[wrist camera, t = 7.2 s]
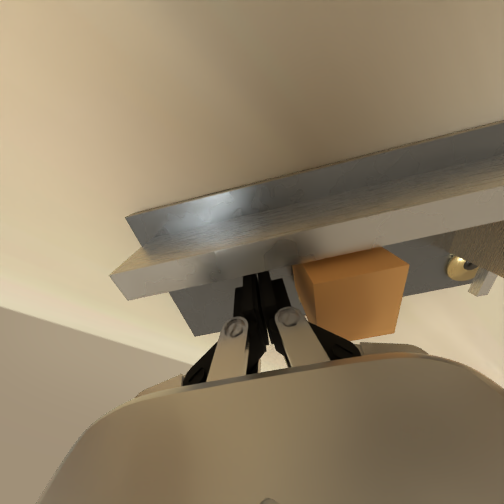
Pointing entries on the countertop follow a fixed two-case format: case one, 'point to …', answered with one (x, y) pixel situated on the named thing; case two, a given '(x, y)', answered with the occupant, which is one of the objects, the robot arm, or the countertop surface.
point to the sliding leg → (353, 292)
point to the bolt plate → (310, 185)
